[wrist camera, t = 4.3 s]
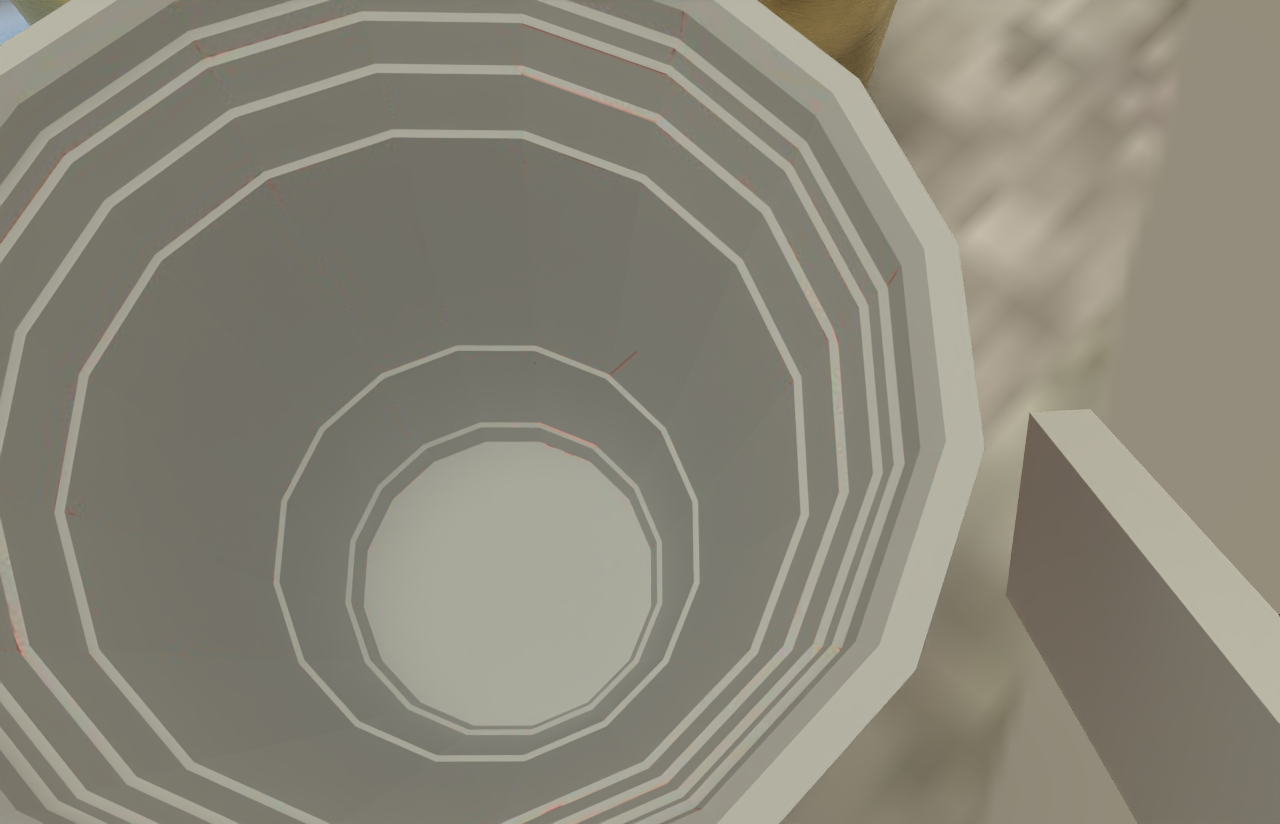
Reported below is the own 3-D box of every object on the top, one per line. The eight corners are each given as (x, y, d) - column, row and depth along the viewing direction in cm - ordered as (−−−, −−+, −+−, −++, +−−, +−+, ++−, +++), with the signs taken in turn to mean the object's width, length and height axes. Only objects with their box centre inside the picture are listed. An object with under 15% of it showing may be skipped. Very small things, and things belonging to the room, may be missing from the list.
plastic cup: (839, 357, 23) (1051, -70, 12) (750, 938, 20) (927, 1146, 8) (313, 259, 23) (20, -243, 12) (140, 808, 20) (-493, 833, 9)
